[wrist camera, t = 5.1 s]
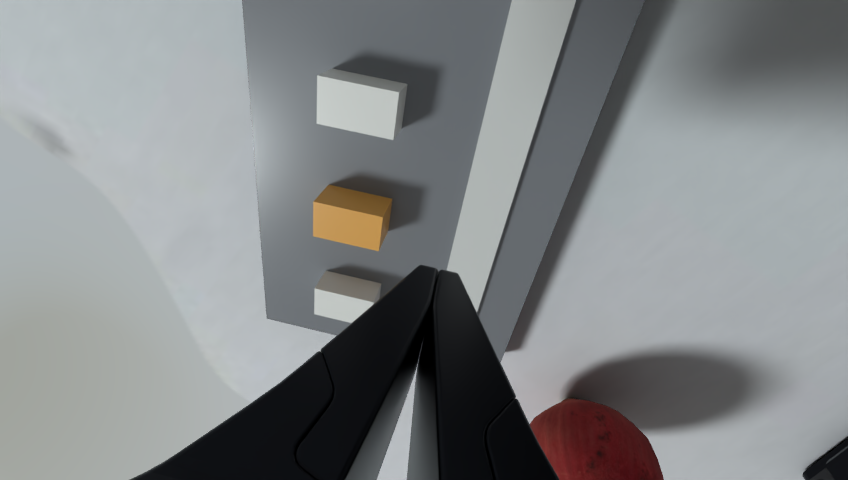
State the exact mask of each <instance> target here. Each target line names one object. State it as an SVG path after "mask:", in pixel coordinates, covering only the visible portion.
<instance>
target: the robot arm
mask: <svg viewBox="0 0 848 480" xmlns="http://www.w3.org/2000/svg"><path fill="white" fill-rule="evenodd" d="M422 342H423V343H422ZM420 351H421V352H420ZM419 355H420V356H419ZM418 360H419V361H418ZM417 364H418V367H417ZM416 367H417V373H416V382H415V394H414V405H413V416H412V427H411V439H410V450H409V461H408V473H407V480H560V479H559V477H558V476H557V474H556V472H555V471H554V469H553V467H552V465H551V464H550V462H549V460H548V458H547V457H546V455H545V453H544V451H543V450H542V448H541V446H540V444H539V442H538V440H537V438H536V436H535V434H534V432H533V430H532V428H531V426H530V424H529V422H528V420H527V418H526V416H525V414H524V412H523V410H522V408H521V406H520V403H519V401H518V400H517V399H515V398H516V395H515V393H514V391H513V389H512V387H511V385H510V382H509V380H508V378H507V376H506V374H505V372H504V370H503V368H502V365H501V363H500V361H499V359H498V357H497V355H496V353H495V350H494V348H493V346H492V344H491V342H490V340H489V338H488V336H487V333H486V331H485V329H484V327H483V325H482V323H481V321H480V318H479V316H478V314H477V312H476V310H475V308H474V306H473V304H472V301H471V299H470V297H469V295H468V293H467V291H466V289H465V287H464V284H463V282H462V280H461V278H460V276H459V274H458V273H456V272H452V271H447V270H443V269H441V270H440V271H439V272H438V269H437V268H434V267H430V266H425V265H419V266H418V267H416V268H415V269H414V270H413V271H412V272H411V273H409V274H408V275H407V276H406V277H405V278H404V279H402V280H401V281H400V282H399V283H398V284H397V285H395V286H394V287H393V288H392V289H391V290H390V291H388V292H387V293H386V294H385V295H384V296H383V297H381V298H380V299H379V300H378V301H377V302H376V303H374V304H373V305H372V306H371V307H370V308H368V309H367V310H366V311H365V312H364V313H363V314H361V315H360V316H359V317H358V318H357V319H356V320H354V321H353V322H352V323H351V324H350V325H349V326H347V327H346V328H345V329H344V330H343V331H342V332H340V333H339V334H338V335H337V336H336V337H335V338H333V339H332V340H331V341H330V342H329V343H328V344H326V345H325V346H324V347H323V348H322V349H321V352H320V351H318V352H317V353H316V354H314V355H313V356H312V357H311V358H310V359H309V360H307V361H306V362H305V363H304V364H303V365H302V366H300V367H299V368H298V369H297V370H295V371H294V372H293V373H292V374H290V375H289V376H288V377H287V378H285V379H284V380H283V381H282V382H280V383H279V384H278V385H276V386H275V387H273V388H272V389H271V390H269V391H268V392H266V393H265V394H263V395H262V396H261V397H259V398H258V399H256V400H255V401H254V402H252V403H251V404H249V405H248V406H246V407H245V408H243V409H242V410H241V411H239V412H238V413H236V414H235V415H233V416H232V417H230V418H229V419H227V420H226V421H224V422H223V423H221V424H220V425H218V426H217V427H215V428H214V429H212V430H211V431H209V432H208V433H207V434H205V435H204V436H202V437H201V438H199V439H198V440H196V441H195V442H193V443H192V444H190V445H189V446H187V447H186V448H184V449H183V450H181V451H180V452H179V453H177V454H176V455H174V456H173V457H171V458H169V459H168V460H166V461H165V462H163V463H161V464H160V465H158V466H156V467H154V468H152V469H151V470H149V471H147V472H145V473H143V474H141V475H139V476H137V477H134V478H132V479H130V480H376V479H377V477H378V474H379V471H380V468H381V466H382V463H383V460H384V457H385V455H386V452H387V449H388V446H389V444H390V441H391V438H392V435H393V433H394V430H395V427H396V424H397V421H398V419H399V416H400V413H401V410H402V408H403V405H404V402H405V399H406V397H407V394H408V391H409V388H410V386H411V383H412V380H413V377H414V374H415V371H416ZM803 477H804V479H805V480H848V439H847V440H845V441H844V442H843V443H841V444H840V445H839V446H838V447H836V448H835V449H834V450H832V451H831V452H830V453H828V454H827V455H826V456H824V457H823V458H822V459H820V460H819V461H818V462H816V463H815V464H814V465H812V466H811V467H810V468H808V469H807V470H806V471H804V473H803Z"/></svg>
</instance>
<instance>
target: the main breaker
mask: <svg viewBox="0 0 848 480" xmlns="http://www.w3.org/2000/svg"><path fill="white" fill-rule="evenodd" d="M391 206H392V199H391V198H387V197H382V196H378V195H373V194H369V193H364V192H360V191H355V190H351V189H346V188H342V187H337V186H333V185H328V186H327V187H326V188H325V189H324V190H323V191H322V192H321V194H320V195H319V196H318V197H317V198H316V199H315V200H314V201H313V236H314V237H318V238H323V239H327V240H331V241H336V242H340V243H345V244H349V245H353V246H358V247H362V248H366V249H371V250H375V251H379V250H380V248H381V245H382V243H383V241H384V239H385V237H386V235H387V233H388V229H389V221H390V214H391Z"/></svg>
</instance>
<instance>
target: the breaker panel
mask: <svg viewBox="0 0 848 480" xmlns="http://www.w3.org/2000/svg"><path fill="white" fill-rule="evenodd" d="M644 1H645V0H242V5H243V17H244V30H245V43H246V56H247V69H248V82H249V95H250V108H251V121H252V134H253V147H254V159H255V172H256V185H257V198H258V211H259V224H260V237H261V250H262V263H263V276H264V289H265V301H266V314H267V319H271V320H275V321H279V322H283V323H288V324H292V325H296V326H300V327H304V328H308V329H312V330H316V331H321V332H325V333H329V334H333V335H338V334H339V333H340V332H342V331H343V330H344V329H345V328H346V327H347V326H349V325H350V324H351V323H352V322H353V321H354V320H356V319H357V318H358V317H359V316H360V315H361V314H363V313H364V312H365V311H366V310H367V309H368V308H370V307H371V306H372V305H373V304H374V303H376V302H377V301H378V300H379V299H380V298H381V297H383V296H384V295H385V294H386V293H387V292H388V291H390V290H391V289H392V288H393V287H394V286H395V285H397V284H398V283H399V282H400V281H401V280H402V279H404V278H405V277H406V276H407V275H408V274H409V273H411V272H412V271H413V270H414V269H415V268H416V267H418V266H419V265H425V266H430V267H434V268H437V269H438V272H439V271H440V270H441V269H443V270H447V271H452V272H456V273H458V274H459V276H460V278H461V280H462V282H463V284H464V287H465V289H466V291H467V293H468V295H469V297H470V299H471V301H472V304H473V306H474V308H475V310H476V312H477V314H478V316H479V318H480V321H481V323H482V325H483V327H484V329H485V331H486V333H487V336H488V338H489V340H490V342H491V344H492V346H493V348H494V350H495V353H496V355H497V357H498V359H499V361H500V362H501V360H502V357H503V355H504V352H505V350H506V347H507V345H508V342H509V340H510V337H511V335H512V332H513V330H514V327H515V325H516V322H517V320H518V317H519V315H520V312H521V310H522V307H523V305H524V302H525V300H526V297H527V295H528V292H529V290H530V287H531V285H532V282H533V280H534V277H535V275H536V272H537V270H538V267H539V265H540V262H541V260H542V257H543V255H544V252H545V250H546V247H547V245H548V242H549V240H550V237H551V235H552V232H553V230H554V227H555V225H556V222H557V220H558V217H559V215H560V212H561V209H562V207H563V204H564V202H565V199H566V197H567V194H568V192H569V189H570V187H571V184H572V182H573V179H574V177H575V174H576V172H577V169H578V167H579V164H580V162H581V159H582V157H583V154H584V152H585V149H586V147H587V144H588V142H589V139H590V137H591V134H592V132H593V129H594V127H595V124H596V122H597V119H598V117H599V114H600V112H601V109H602V107H603V104H604V102H605V99H606V97H607V94H608V92H609V89H610V87H611V84H612V82H613V79H614V77H615V74H616V72H617V69H618V67H619V64H620V62H621V59H622V57H623V54H624V52H625V49H626V47H627V44H628V42H629V39H630V36H631V34H632V31H633V29H634V26H635V24H636V21H637V19H638V16H639V14H640V11H641V9H642V6H643V4H644ZM328 185H333V186H337V187H342V188H346V189H351V190H355V191H360V192H364V193H369V194H373V195H378V196H382V197H387V198H391V199H392V206H391V214H390V221H389V229H388V233H387V235H386V237H385V239H384V241H383V243H382V245H381V248H380V250H379V251H375V250H371V249H366V248H362V247H358V246H353V245H349V244H345V243H340V242H336V241H331V240H327V239H323V238H318V237H314V236H313V201H314V200H315V199H316V198H317V197H318V196H319V195H320V194H321V192H322V191H323V190H324V189H325V188H326V187H327V186H328ZM422 343H423V342H422ZM420 352H421V351H420Z"/></svg>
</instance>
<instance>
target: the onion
mask: <svg viewBox="0 0 848 480" xmlns="http://www.w3.org/2000/svg"><path fill="white" fill-rule="evenodd" d="M530 426H531V428H532V430H533V432H534V434H535V436H536V438H537V440H538V442H539V444H540V446H541V448H542V450H543V451H544V453H545V455H546V457H547V458H548V460H549V462H550V464H551V465H552V467H553V469H554V471H555V472H556V474H557V476H558V477H559V479H560V480H664V479H663V475H662V472H661V468H660V465H659V462H658V459H657V457H656V455H655V453H654V450H653V448H652V446H651V444H650V442H649V440H648V438H647V437H646V436H645V435H644V434H643V433H642V432H641V431H640V430H639V429H638V428H637V427H636V426H635V425H634V424H633V423H632V422H631V421H629V420H628V419H627V418H625V417H624V416H623V415H622V414H620V413H619V412H618V411H616V410H614V409H612V408H610V407H607V406H605V405H602V404H598V403H595V402H591V401H588V400H579V399H573V398H569V399H565V400H563V401H562V402H561V403H558V404H556V405H554V406H552V407H550V408H549V409H547V410H545V411H544V412H542V413H541V414H539V415H538V416H536V417H535V418H534V419H533V421H532V422H531V423H530Z"/></svg>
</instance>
